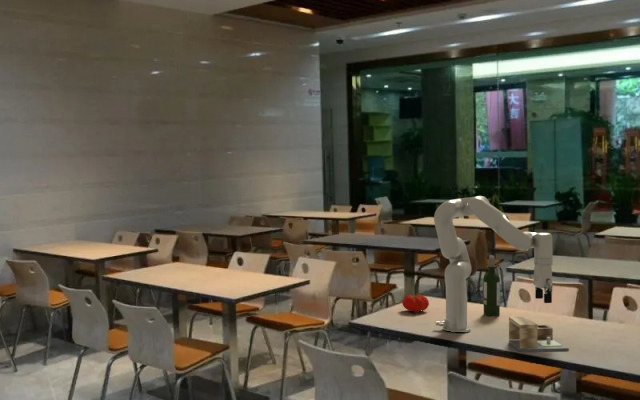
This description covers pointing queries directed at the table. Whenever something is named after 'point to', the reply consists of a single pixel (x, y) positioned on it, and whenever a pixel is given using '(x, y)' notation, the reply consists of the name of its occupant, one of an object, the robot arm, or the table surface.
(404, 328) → the table surface
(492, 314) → the wine bottle
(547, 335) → the brown wooden cube
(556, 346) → the board
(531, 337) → the tan wooden block
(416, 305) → the tomato
